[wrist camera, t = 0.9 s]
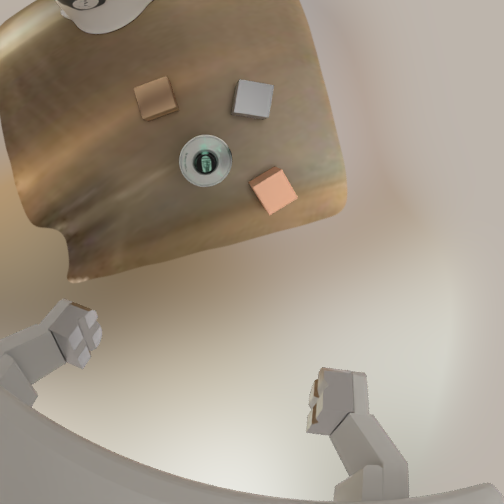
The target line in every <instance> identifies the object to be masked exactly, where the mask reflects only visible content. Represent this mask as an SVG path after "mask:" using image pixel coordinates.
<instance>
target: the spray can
mask: <svg viewBox="0 0 504 504" xmlns="http://www.w3.org/2000/svg"><path fill="white" fill-rule="evenodd" d="M179 166H180V170H181V172H182V174H183V176H184V177H185V178H186V179H187V180H188V181H189V182H191V183H192V184H194V185H197V186H201V187H209V186H214V185H216V184H218V183H220V182H221V181H222V180H223V179H225V178H226V176H227V175H228V173H229V171H230V169H231V166H232V154H231V151H230V149H229V147H228V146H227V144H226V143H225V142H224V141H223V140H221V139H220V138H218V137H216V136H213V135H199V136H196V137H194V138H192V139H191V140H189V141H188V142H187V143H186V144H185V145H184V147H183V148H182V150H181V153H180V157H179Z"/></svg>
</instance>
